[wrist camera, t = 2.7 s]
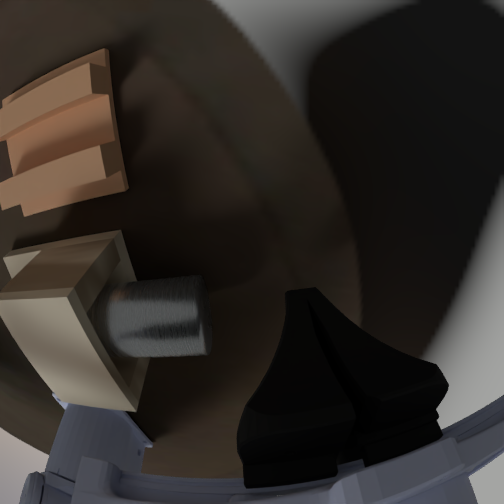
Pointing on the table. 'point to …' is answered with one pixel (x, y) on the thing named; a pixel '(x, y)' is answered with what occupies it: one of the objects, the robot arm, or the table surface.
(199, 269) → the table surface
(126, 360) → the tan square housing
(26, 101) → the cradle
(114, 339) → the axle
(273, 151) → the table surface
